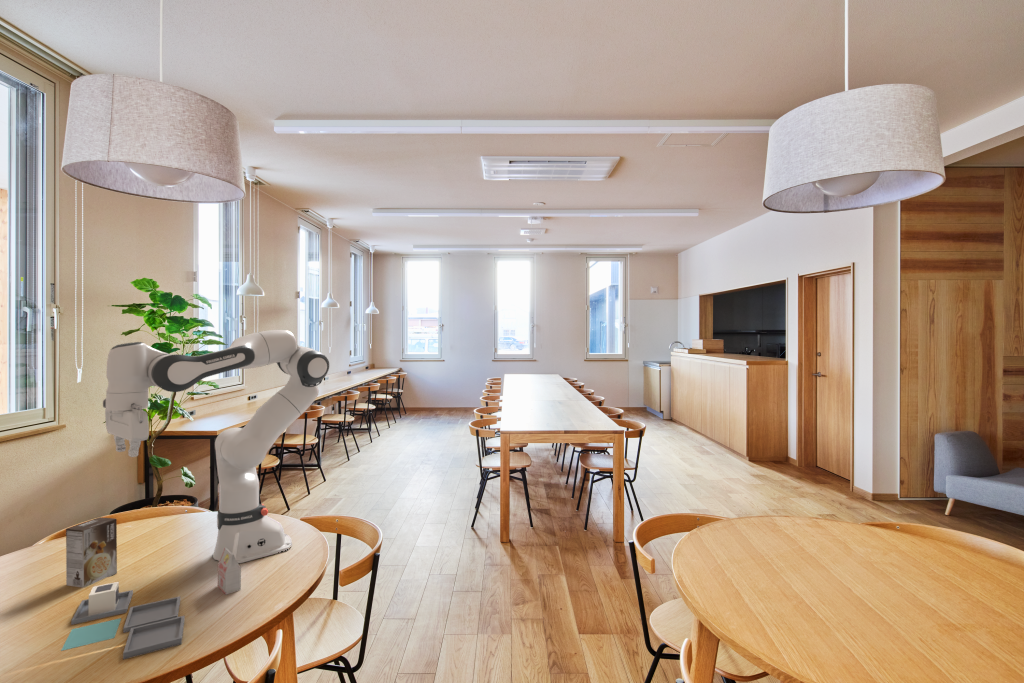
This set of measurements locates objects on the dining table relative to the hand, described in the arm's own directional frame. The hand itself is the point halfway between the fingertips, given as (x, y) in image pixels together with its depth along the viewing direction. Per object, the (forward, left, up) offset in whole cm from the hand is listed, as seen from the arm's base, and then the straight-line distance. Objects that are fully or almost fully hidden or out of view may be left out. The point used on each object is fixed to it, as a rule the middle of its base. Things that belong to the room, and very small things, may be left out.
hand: (126, 453), depth 129 cm
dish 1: (+3, +8, -37) cm, 38 cm away
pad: (+3, +20, -37) cm, 42 cm away
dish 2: (-8, +18, -37) cm, 42 cm away
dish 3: (-9, +29, -37) cm, 48 cm away
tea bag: (-24, +11, -37) cm, 46 cm away
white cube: (+3, +8, -37) cm, 38 cm away
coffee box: (+9, -13, -37) cm, 40 cm away
